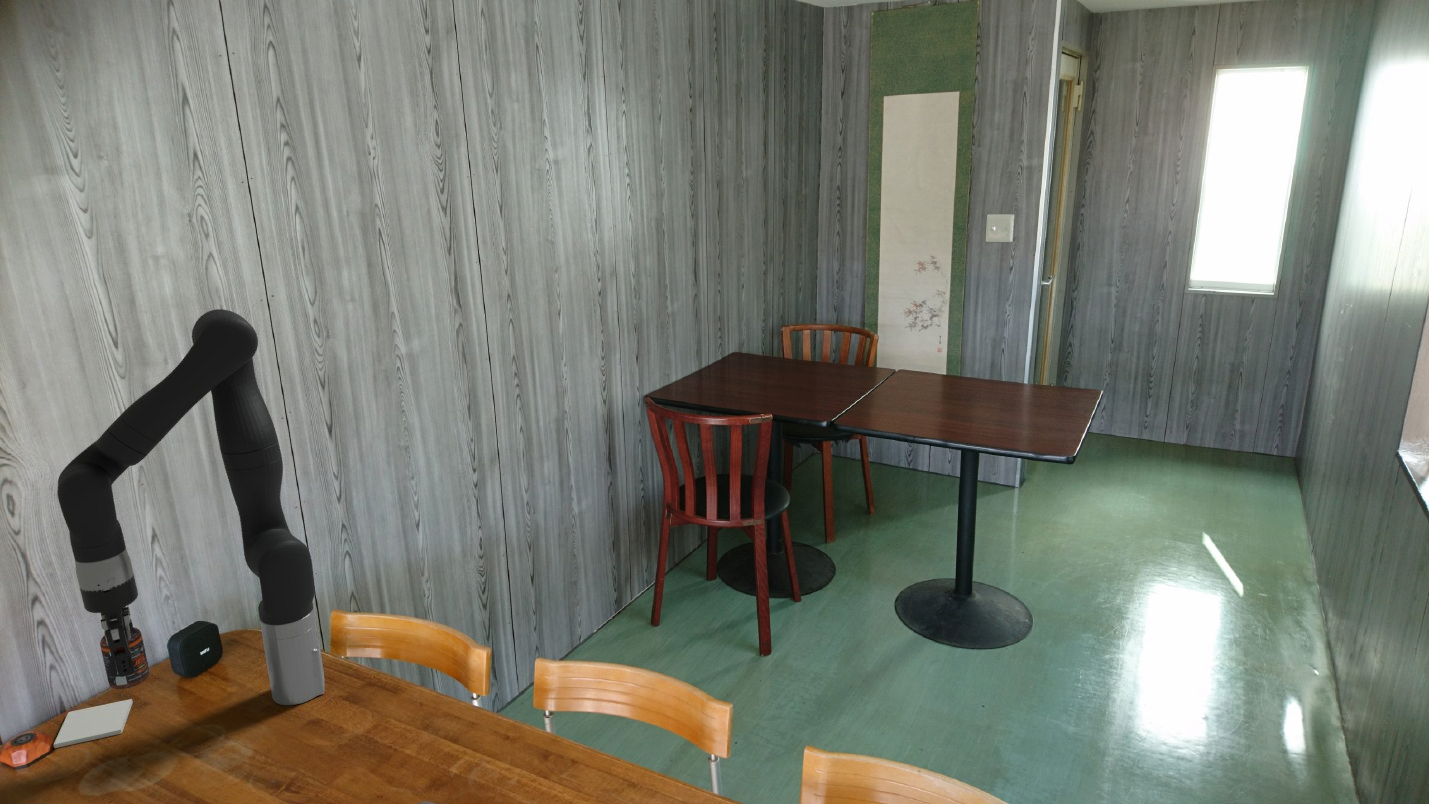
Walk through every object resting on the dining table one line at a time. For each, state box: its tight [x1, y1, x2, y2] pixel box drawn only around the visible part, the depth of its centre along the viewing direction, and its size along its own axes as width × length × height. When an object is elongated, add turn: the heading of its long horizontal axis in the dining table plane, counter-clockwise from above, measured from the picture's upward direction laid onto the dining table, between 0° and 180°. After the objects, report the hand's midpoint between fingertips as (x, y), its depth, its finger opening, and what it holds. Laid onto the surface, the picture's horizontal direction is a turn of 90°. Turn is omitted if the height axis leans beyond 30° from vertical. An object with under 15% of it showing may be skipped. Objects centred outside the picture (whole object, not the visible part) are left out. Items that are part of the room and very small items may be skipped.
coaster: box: [53, 698, 134, 749], centre depth 156 cm, size 10×10×1 cm
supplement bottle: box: [99, 618, 151, 690], centre depth 146 cm, size 6×6×11 cm
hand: (126, 664), depth 146 cm, fingers closed on supplement bottle, 6 cm apart
